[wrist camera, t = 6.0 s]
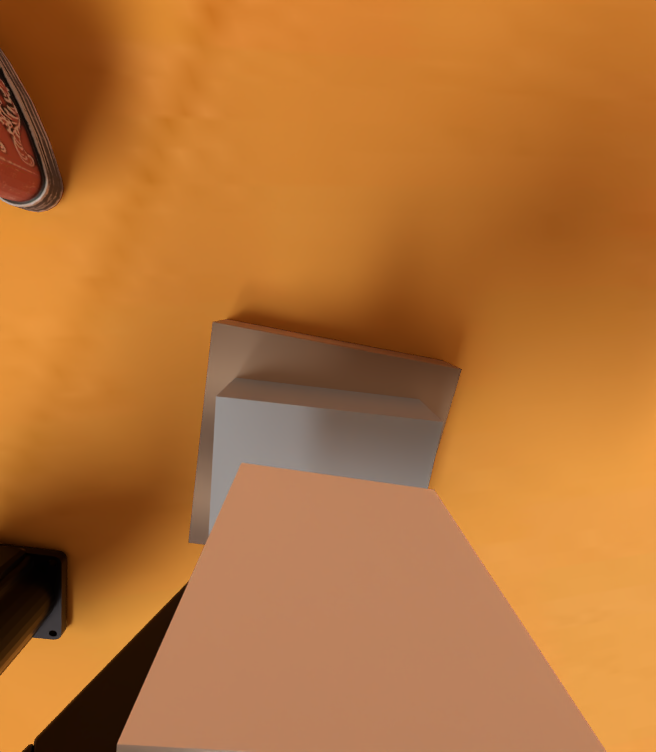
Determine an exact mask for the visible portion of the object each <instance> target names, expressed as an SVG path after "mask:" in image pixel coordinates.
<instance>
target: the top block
mask: <svg viewBox="0 0 656 752" xmlns="http://www.w3.org/2000/svg"><path fill="white" fill-rule="evenodd" d="M442 426H443V421H442V420H441V419H440V418H439V417H437V416H436V415H435V414H434V413H433V412H432V411H431V410H430V409H429V408H428V407H427V406H426V405H425V404H424V403H423V402H421V401H420V400H419V399H413V398H405V397H396V396H388V395H379V394H371V393H362V392H354V391H346V390H337V389H329V388H320V387H311V386H303V385H294V384H286V383H277V382H269V381H260V380H252V379H243V378H235V379H234V380H233V381H231V382H230V383H229V384H228V385H227V386H226V387H225V388H224V389H223V390H222V391H221V392H220V393H219V394H218V395H217V396H216V404H215V423H214V442H213V461H212V480H211V499H210V517H209V535H210V533H211V530H212V528H213V526H214V524H215V521H216V519H217V517H218V514H219V512H220V510H221V508H222V505H223V503H224V501H225V499H226V496H227V494H228V492H229V490H230V487H231V485H232V483H233V481H234V478H235V476H236V474H237V472H238V469H239V467H240V465H241V463H248V464H255V465H262V466H269V467H276V468H283V469H290V470H297V471H304V472H312V473H319V474H326V475H333V476H340V477H347V478H354V479H361V480H368V481H375V482H383V483H390V484H397V485H404V486H411V487H418V488H425V489H428V486H429V481H430V477H431V473H432V468H433V464H434V460H435V456H436V451H437V447H438V443H439V438H440V434H441V430H442ZM208 537H209V536H208Z"/></svg>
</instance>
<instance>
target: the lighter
mask: <svg viewBox="0 0 656 752" xmlns="http://www.w3.org/2000/svg"><path fill="white" fill-rule="evenodd" d="M62 192H63V183H62V178H61V175H60V172H59V169H58V165H57V162H56V159H55V156H54V153H53V150H52V147H51V143H50V141H49V139H48V136H47V134H46V132H45V129H44V127H43V125H42V122H41V120H40V118H39V115H38V113H37V111H36V108H35V106H34V104H33V102H32V100H31V98H30V96H29V95H28V93H27V91H26V89H25V88H24V86H23V84H22V82H21V81H20V79H19V77H18V75H17V74H16V72H15V70H14V68H13V67H12V65H11V63H10V61H9V60H8V59H7V57H6V56H5V54H4V53H3V51H2V50H1V48H0V199H1V200H2V201H4V202H6V203H8V204H10V205H12V206H16V207H19V208H22V209H25V210H28V211H34V212H42V211H47V210H49V209H51V208H52V207H54V206H56V204H57V203H58V202H59V200H60V199H61V196H62Z"/></svg>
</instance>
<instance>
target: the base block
mask: <svg viewBox="0 0 656 752" xmlns="http://www.w3.org/2000/svg"><path fill="white" fill-rule="evenodd" d="M461 370H462V369H460V368H458V367H456V366H453V365H451V364H449V363H447V362H445V361H442V360H437V359H432V358H427V357H422V356H417V355H411V354H406V353H401V352H396V351H391V350H385V349H380V348H375V347H370V346H364V345H359V344H354V343H349V342H344V341H338V340H333V339H328V338H323V337H318V336H312V335H307V334H302V333H297V332H291V331H286V330H281V329H276V328H271V327H265V326H260V325H255V324H250V323H245V322H239V321H234V320H229V319H225V320H220V321H215V322H213V324H212V333H211V343H210V352H209V361H208V370H207V379H206V388H205V397H204V406H203V415H202V424H201V433H200V443H199V452H198V461H197V470H196V479H195V488H194V497H193V506H192V515H191V524H190V533H189V543H196V544H204V545H205V544H206V542H207V539H208V536H209V517H210V499H211V480H212V461H213V442H214V423H215V404H216V396H217V395H218V394H219V393H220V392H221V391H222V390H223V389H224V388H225V387H226V386H227V385H228V384H229V383H230V382H231V381H233V380H234V379H235V378H243V379H252V380H260V381H269V382H277V383H286V384H294V385H303V386H311V387H320V388H329V389H337V390H346V391H354V392H362V393H371V394H379V395H388V396H396V397H405V398H413V399H419V400H420V401H421V402H423V403H424V404H425V405H426V406H427V407H428V408H429V409H430V410H431V411H432V412H433V413H434V414H435V415H436V416H437V417H439V418H440V419H441V420H442V421H443V426H442V430H441V434H440V438H439V443H440V440H441V436H442V433H443V430H444V426H445V423H446V420H447V416H448V413H449V410H450V406H451V403H452V400H453V396H454V393H455V390H456V386H457V383H458V380H459V376H460V373H461ZM439 443H438V446H439ZM437 450H438V447H437ZM436 453H437V451H436Z"/></svg>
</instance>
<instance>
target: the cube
mask: <svg viewBox="0 0 656 752" xmlns="http://www.w3.org/2000/svg"><path fill="white" fill-rule="evenodd" d="M116 752H606V750H605V749H604V747H603V746H602V744H601V743H600V741H599V740H598V738H597V737H596V735H595V733H594V732H593V730H592V729H591V727H590V726H589V724H588V723H587V721H586V720H585V718H584V717H583V715H582V714H581V712H580V711H579V709H578V708H577V706H576V705H575V703H574V702H573V700H572V699H571V697H570V695H569V694H568V692H567V691H566V689H565V688H564V686H563V685H562V683H561V682H560V680H559V679H558V677H557V676H556V674H555V673H554V671H553V670H552V668H551V667H550V665H549V664H548V662H547V661H546V659H545V657H544V656H543V654H542V653H541V651H540V650H539V648H538V647H537V645H536V644H535V642H534V641H533V639H532V638H531V636H530V635H529V633H528V632H527V630H526V629H525V627H524V626H523V624H522V623H521V621H520V619H519V618H518V616H517V615H516V613H515V612H514V610H513V609H512V607H511V606H510V604H509V603H508V601H507V600H506V598H505V597H504V595H503V594H502V592H501V591H500V589H499V588H498V586H497V585H496V583H495V581H494V580H493V578H492V577H491V575H490V574H489V572H488V571H487V569H486V568H485V566H484V565H483V563H482V562H481V560H480V559H479V557H478V556H477V554H476V553H475V551H474V550H473V548H472V547H471V545H470V544H469V542H468V540H467V539H466V537H465V536H464V534H463V533H462V531H461V530H460V528H459V527H458V525H457V524H456V522H455V521H454V519H453V518H452V516H451V515H450V513H449V512H448V510H447V509H446V507H445V506H444V504H443V502H442V501H441V499H440V498H439V496H438V495H437V493H436V492H435V490H432V489H425V488H418V487H411V486H404V485H397V484H390V483H383V482H375V481H368V480H361V479H354V478H347V477H340V476H333V475H326V474H319V473H312V472H304V471H297V470H290V469H283V468H276V467H269V466H262V465H255V464H248V463H241V465H240V467H239V469H238V472H237V474H236V476H235V478H234V481H233V483H232V485H231V487H230V490H229V492H228V494H227V496H226V499H225V501H224V503H223V505H222V508H221V510H220V512H219V514H218V517H217V519H216V521H215V524H214V526H213V528H212V530H211V533H210V535H209V537H208V539H207V542H206V544H205V546H204V548H203V551H202V553H201V555H200V557H199V560H198V562H197V564H196V566H195V569H194V571H193V573H192V575H191V578H190V580H189V582H188V585H187V587H186V589H185V591H184V594H183V596H182V598H181V600H180V603H179V605H178V607H177V609H176V612H175V614H174V616H173V618H172V621H171V623H170V625H169V627H168V630H167V632H166V634H165V636H164V639H163V641H162V643H161V646H160V648H159V650H158V652H157V655H156V657H155V659H154V661H153V664H152V666H151V668H150V670H149V673H148V675H147V677H146V679H145V682H144V684H143V686H142V688H141V691H140V693H139V695H138V697H137V700H136V702H135V704H134V707H133V709H132V711H131V713H130V716H129V718H128V720H127V722H126V725H125V727H124V729H123V731H122V734H121V736H120V738H119V740H118V743H117V751H116Z"/></svg>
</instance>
